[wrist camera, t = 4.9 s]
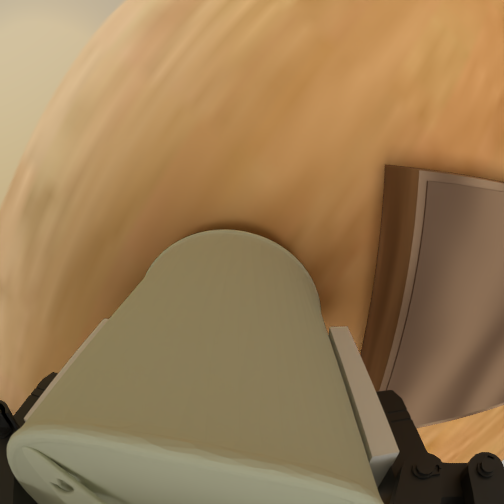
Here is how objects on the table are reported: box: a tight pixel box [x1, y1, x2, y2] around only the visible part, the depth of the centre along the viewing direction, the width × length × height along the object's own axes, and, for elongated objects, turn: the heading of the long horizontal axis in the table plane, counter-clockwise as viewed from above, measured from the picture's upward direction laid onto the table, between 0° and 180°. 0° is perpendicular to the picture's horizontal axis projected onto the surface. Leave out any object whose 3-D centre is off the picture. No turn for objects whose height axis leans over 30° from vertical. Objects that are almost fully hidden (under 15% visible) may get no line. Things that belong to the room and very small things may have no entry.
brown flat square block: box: [361, 165, 504, 428], centre depth 15 cm, size 15×15×4 cm
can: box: [7, 229, 384, 504], centre depth 10 cm, size 9×9×12 cm
